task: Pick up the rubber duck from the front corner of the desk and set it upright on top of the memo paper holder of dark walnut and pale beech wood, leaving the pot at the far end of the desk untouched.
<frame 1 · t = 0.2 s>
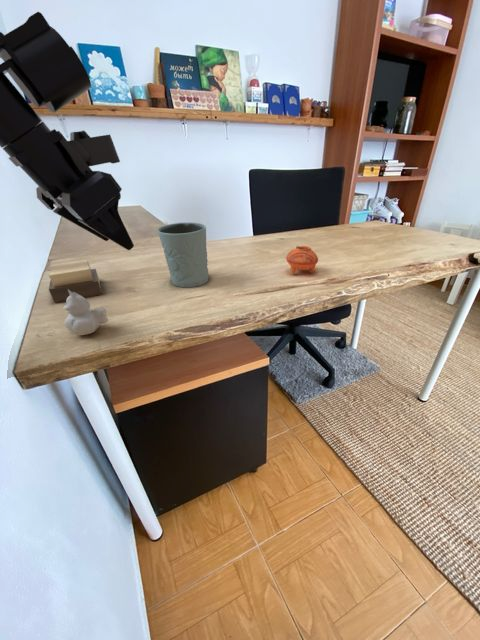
hand: (119, 243, 46), 14 cm above the table, tool tilted 30°, fingers open, 9 cm apart
grey green cup: (190, 281, 70), on the table
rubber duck: (92, 332, 51), on the table
memo paper holder: (79, 291, 65), on the table
pot: (301, 272, 74), on the table
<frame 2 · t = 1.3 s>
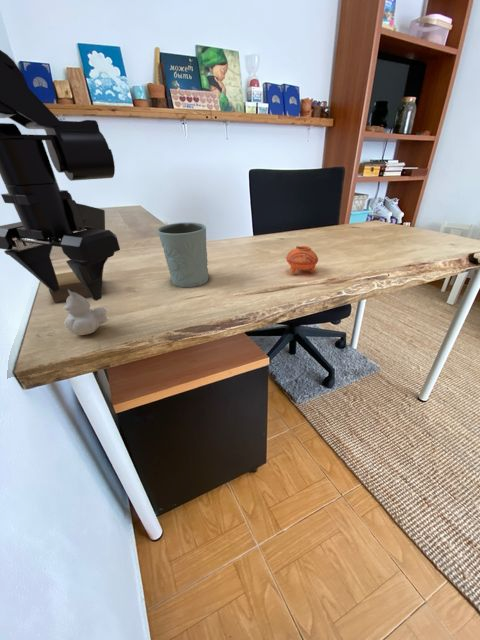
hand: (76, 295, 47), 7 cm above the table, tool pointing down, fingers open, 9 cm apart
nothing on the table moved.
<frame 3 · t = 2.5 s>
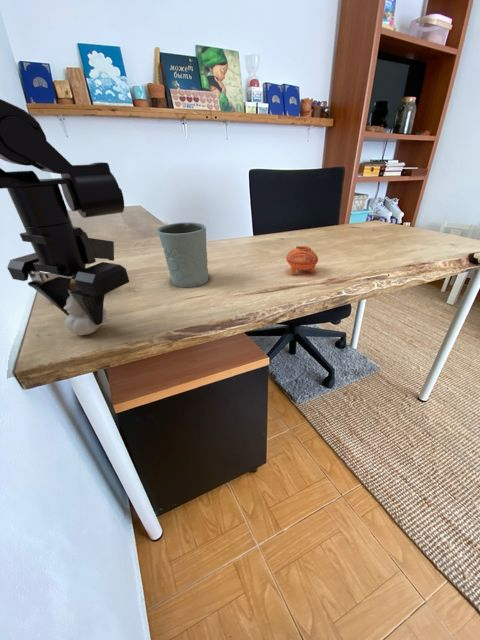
hand: (87, 321, 50), 2 cm above the table, tool pointing down, fingers closed on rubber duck, 5 cm apart
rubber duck: (92, 332, 51), on the table, touching gripper
everything else where it was.
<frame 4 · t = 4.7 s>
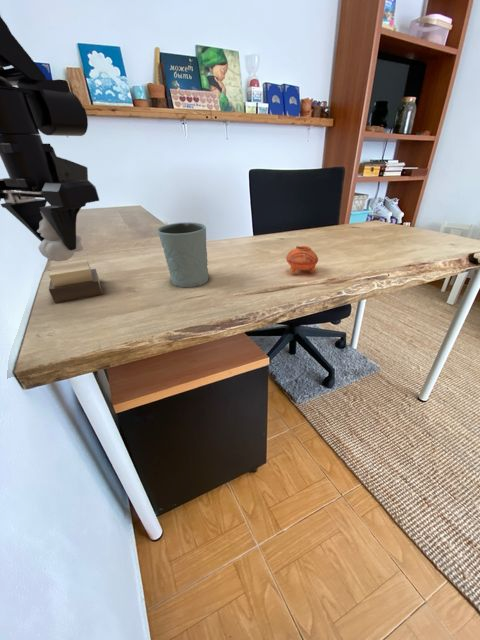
hand: (61, 248, 50), 12 cm above the table, tool pointing down, fingers closed on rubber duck, 5 cm apart
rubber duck: (67, 260, 51), point 10 cm above the table, touching gripper
everything else where it was.
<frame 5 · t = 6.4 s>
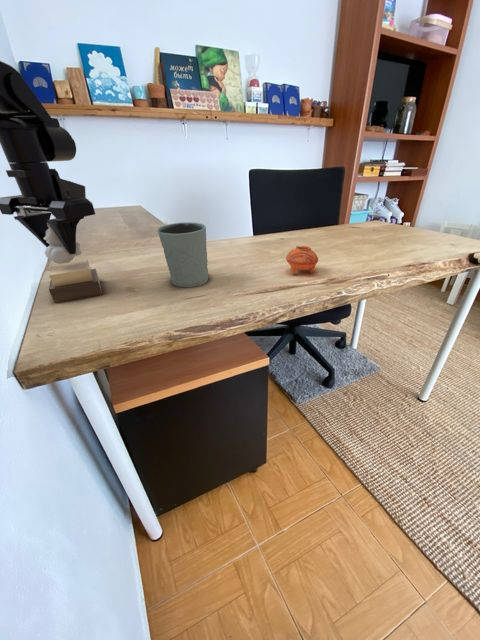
hand: (63, 252, 60), 9 cm above the table, tool pointing down, fingers closed on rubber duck, 5 cm apart
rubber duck: (68, 263, 62), point 6 cm above the table, touching gripper
everything else where it was.
when the fingers open (8 cm above the table, at t = 7.1 s): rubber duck stays where it is, resting on memo paper holder.
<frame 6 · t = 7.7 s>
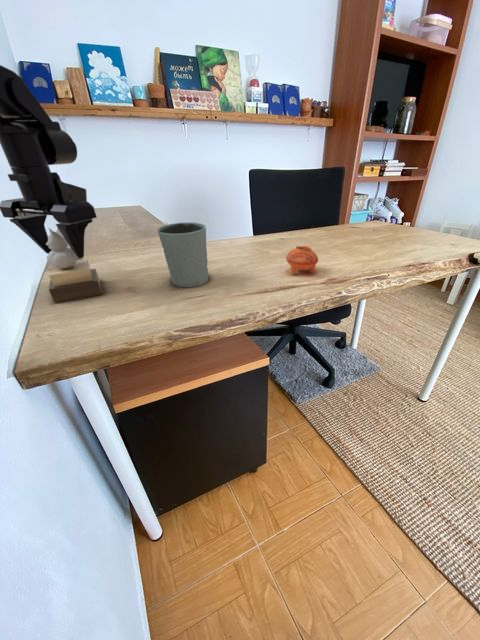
hand: (65, 255, 61), 8 cm above the table, tool pointing down, fingers open, 9 cm apart
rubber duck: (70, 268, 62), point 5 cm above the table, touching memo paper holder
everything else where it was.
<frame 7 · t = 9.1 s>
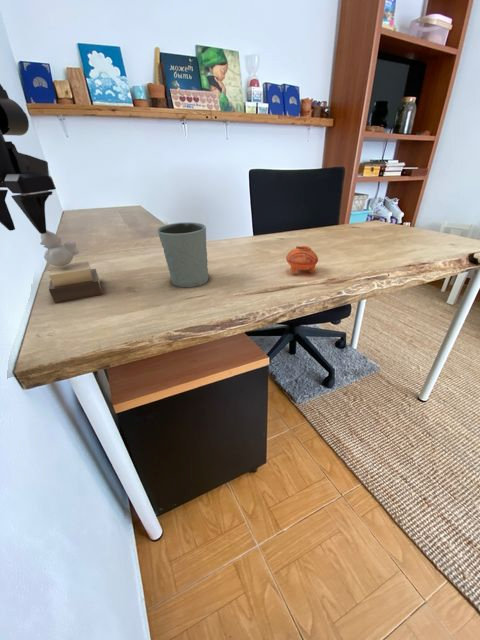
hand: (27, 231, 58), 13 cm above the table, tool pointing down, fingers open, 9 cm apart
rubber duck: (68, 264, 62), point 6 cm above the table, touching memo paper holder, gripper
everything else where it was.
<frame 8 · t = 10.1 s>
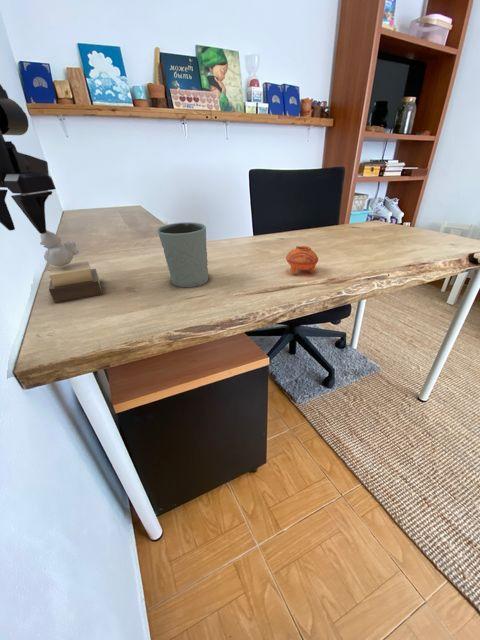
hand: (27, 231, 58), 13 cm above the table, tool pointing down, fingers open, 9 cm apart
nothing on the table moved.
at the end: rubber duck 0.2 cm off-centre on the memo paper holder, point 6.0 cm above the memo paper holder's base; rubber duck tilted 14°; pot moved 0.2 cm from its start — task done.
